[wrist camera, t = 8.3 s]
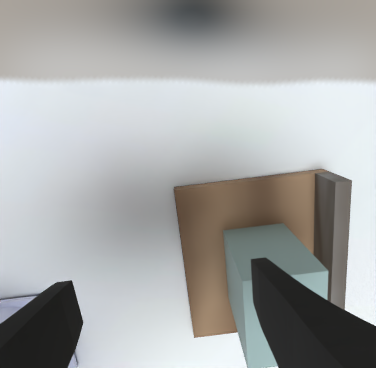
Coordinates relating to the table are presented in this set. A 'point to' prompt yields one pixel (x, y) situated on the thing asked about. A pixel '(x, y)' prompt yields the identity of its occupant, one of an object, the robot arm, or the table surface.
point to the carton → (242, 279)
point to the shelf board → (259, 216)
